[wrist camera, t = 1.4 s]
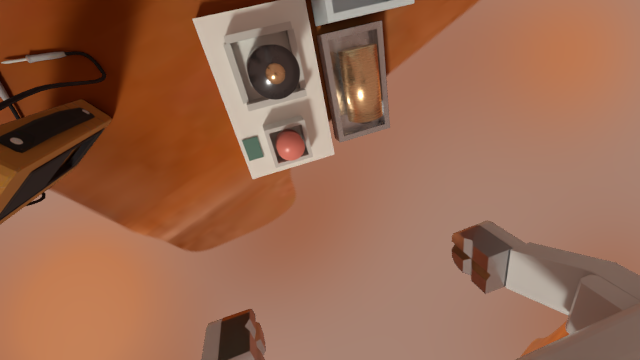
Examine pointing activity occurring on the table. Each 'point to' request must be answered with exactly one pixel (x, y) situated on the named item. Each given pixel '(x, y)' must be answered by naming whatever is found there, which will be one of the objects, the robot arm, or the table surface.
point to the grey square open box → (350, 9)
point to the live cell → (361, 83)
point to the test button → (289, 145)
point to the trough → (333, 78)
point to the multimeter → (44, 142)
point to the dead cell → (273, 71)
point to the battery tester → (246, 103)
